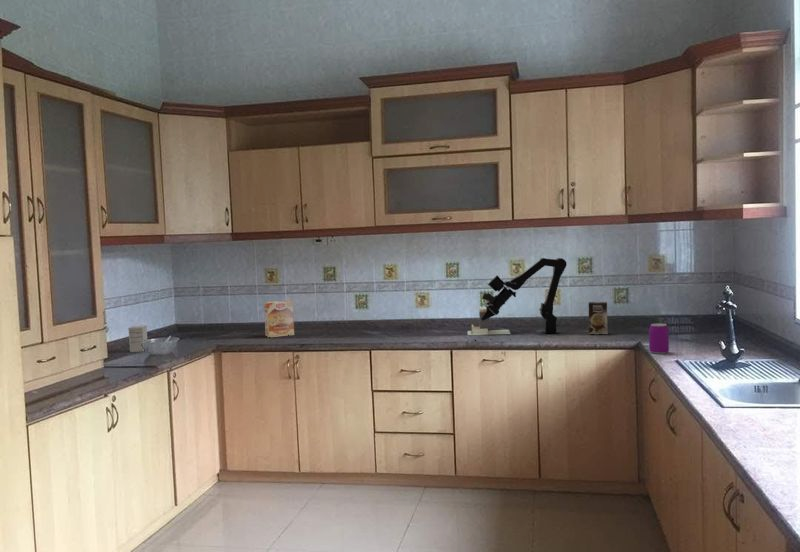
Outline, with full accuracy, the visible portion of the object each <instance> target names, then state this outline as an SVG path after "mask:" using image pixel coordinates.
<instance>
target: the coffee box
mask: <svg viewBox="0 0 800 552" xmlns="http://www.w3.org/2000/svg"><path fill="white" fill-rule="evenodd" d="M589 334H607V335H608V302H607V301H589V302H588V335H589Z"/></svg>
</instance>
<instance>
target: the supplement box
mask: <svg viewBox="0 0 800 552" xmlns="http://www.w3.org/2000/svg"><path fill="white" fill-rule="evenodd" d="M127 330H128V342H129V343H128V344H129V352H130V353H136V352H139V353H140V352H145V351H144V349H143V348H142V346H141V342H142V341H144V340H147V341H148V331H147V330H148V329H147V325H145V324H144V325H143V324H141V325H132V326H129V327H128V329H127Z"/></svg>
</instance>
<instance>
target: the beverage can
mask: <svg viewBox="0 0 800 552" xmlns="http://www.w3.org/2000/svg"><path fill="white" fill-rule="evenodd" d="M669 330H670V329H669V328H668V326H667V324H666V323H651V324H650V327H649V329H648V336H649V337H648V338H649V339H648V340H649V341H648V342H649V344H648V345H649V351H650V352H651V354H655V355H663V354H668V352H669V350H670V345H669V344H670V343H669V342H670V338H669V334H670V333H669V332H670V331H669Z"/></svg>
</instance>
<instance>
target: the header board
mask: <svg viewBox="0 0 800 552" xmlns="http://www.w3.org/2000/svg"><path fill="white" fill-rule="evenodd" d="M509 334H510V335H511V332H510V330H509V329H495V330H494V329H492V330H491V329H490V331H488V328H486V329H480V326H474V324H471V330H467V335H468V336H477V335H478V336H479V335H480V336H481V335H485V336H486V335H509Z"/></svg>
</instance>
